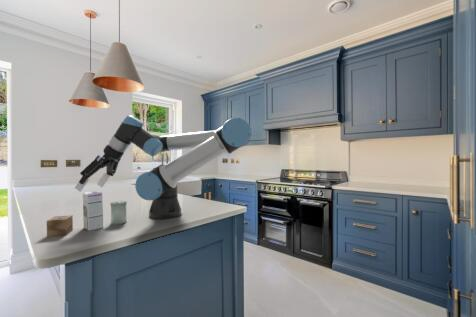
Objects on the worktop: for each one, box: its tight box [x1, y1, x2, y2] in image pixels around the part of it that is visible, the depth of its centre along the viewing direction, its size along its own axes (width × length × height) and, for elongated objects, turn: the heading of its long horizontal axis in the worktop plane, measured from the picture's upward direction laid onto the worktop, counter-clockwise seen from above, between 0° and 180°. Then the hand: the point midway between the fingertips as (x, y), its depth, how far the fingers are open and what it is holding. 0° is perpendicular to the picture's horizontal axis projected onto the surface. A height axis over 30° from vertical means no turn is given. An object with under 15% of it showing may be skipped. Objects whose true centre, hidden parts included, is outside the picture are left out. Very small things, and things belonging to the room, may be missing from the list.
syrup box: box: [82, 190, 104, 231], centre depth 94 cm, size 6×6×14 cm
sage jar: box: [109, 200, 128, 225], centre depth 101 cm, size 6×6×9 cm
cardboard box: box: [46, 215, 74, 238], centre depth 87 cm, size 6×6×6 cm
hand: (89, 187), depth 101 cm, fingers open, 13 cm apart
